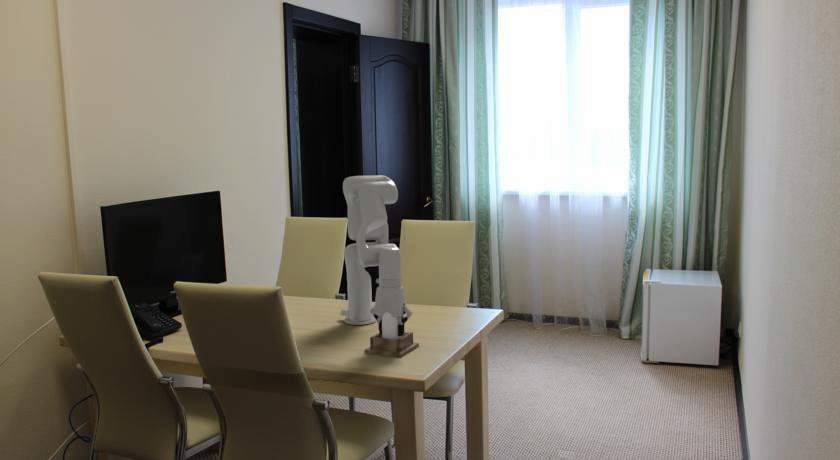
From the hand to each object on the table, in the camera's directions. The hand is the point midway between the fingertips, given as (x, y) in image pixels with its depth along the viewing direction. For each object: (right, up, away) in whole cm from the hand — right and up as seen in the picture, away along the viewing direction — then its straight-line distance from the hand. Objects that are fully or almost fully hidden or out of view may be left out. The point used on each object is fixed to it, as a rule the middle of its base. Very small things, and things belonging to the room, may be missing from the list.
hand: (391, 333), depth 255 cm
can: (0, -3, 0) cm, 3 cm away
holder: (0, -6, +1) cm, 6 cm away
